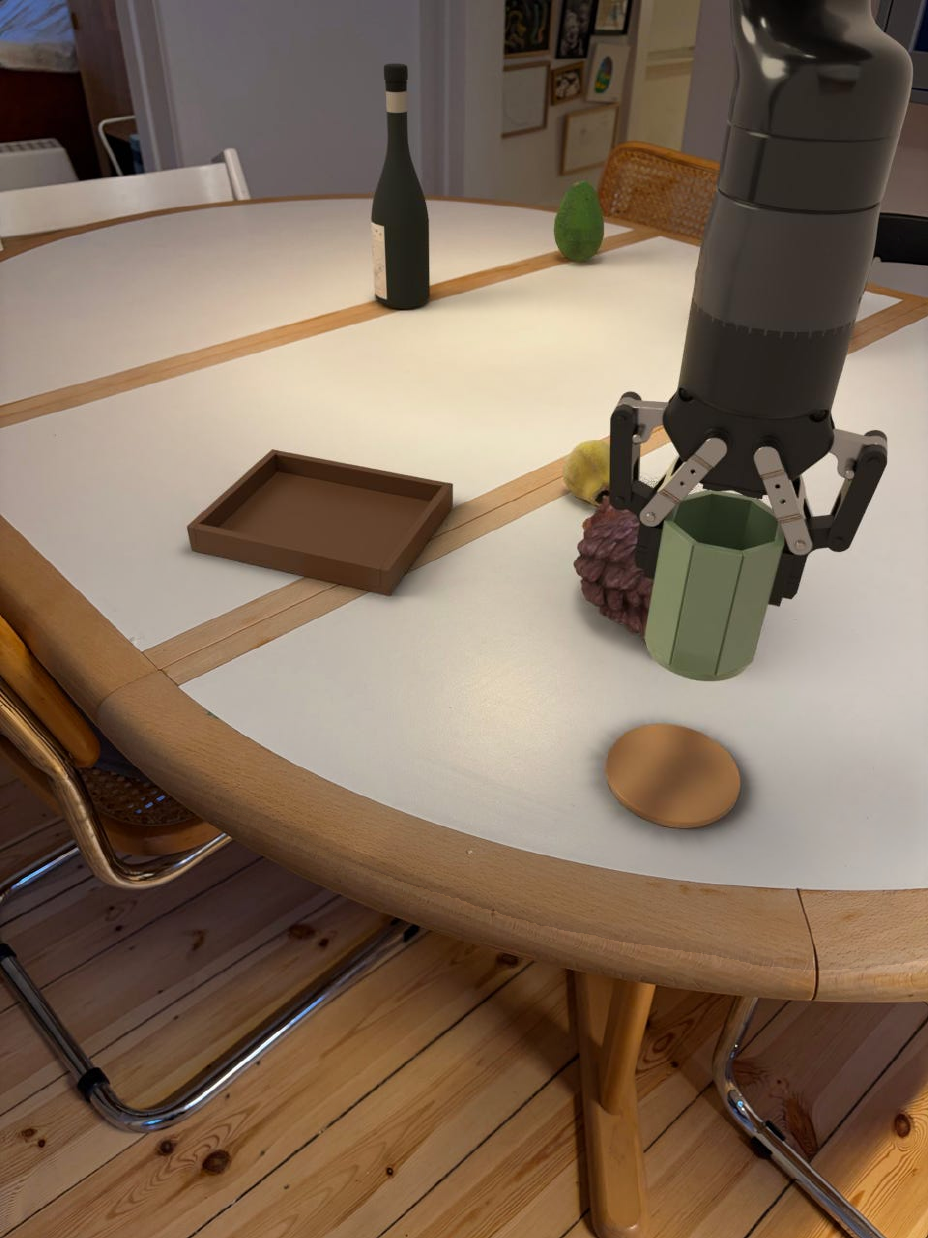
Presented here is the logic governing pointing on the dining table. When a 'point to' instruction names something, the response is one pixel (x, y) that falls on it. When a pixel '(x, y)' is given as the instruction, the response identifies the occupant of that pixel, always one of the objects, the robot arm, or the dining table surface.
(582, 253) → the fruit
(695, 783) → the coaster
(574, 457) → the fruit
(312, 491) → the tray
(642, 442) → the robot arm
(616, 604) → the pine cone
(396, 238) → the wine bottle
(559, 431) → the dining table surface
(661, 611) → the cup
